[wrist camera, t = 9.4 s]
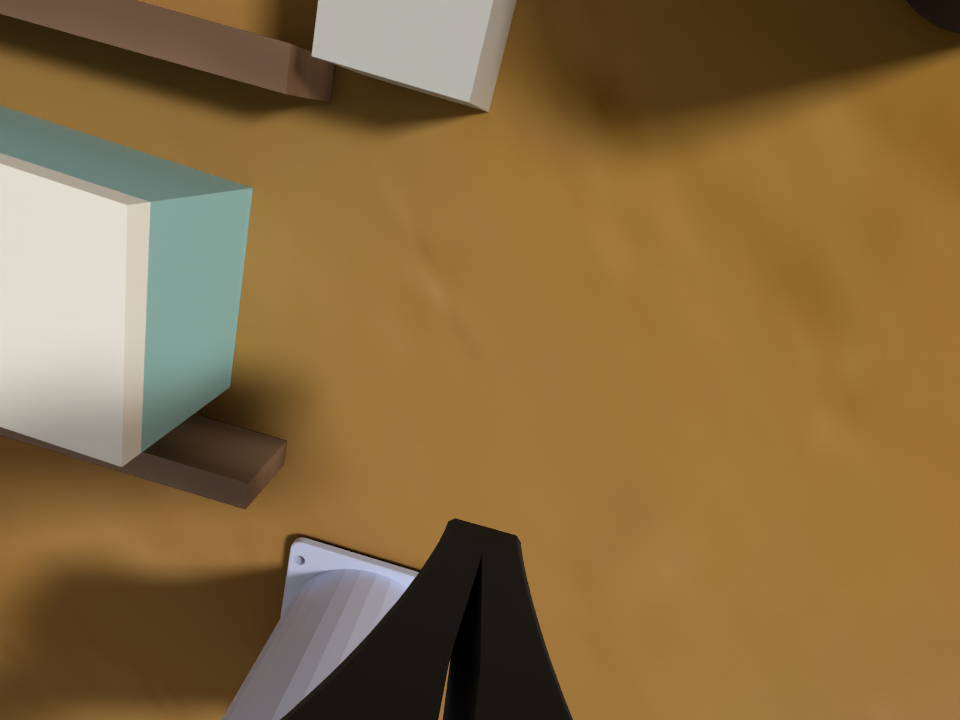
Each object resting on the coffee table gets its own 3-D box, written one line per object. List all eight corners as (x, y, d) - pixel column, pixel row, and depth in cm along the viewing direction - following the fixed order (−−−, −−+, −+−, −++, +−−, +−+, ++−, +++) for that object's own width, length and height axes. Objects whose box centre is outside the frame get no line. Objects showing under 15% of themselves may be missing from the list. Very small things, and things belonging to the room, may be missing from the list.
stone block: (488, 112, 16) (469, 102, 13) (366, 76, 17) (311, 56, 13) (527, -40, 15) (516, -101, 11) (391, -79, 15) (336, -153, 11)
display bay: (283, 464, 22) (245, 509, 20) (-53, 363, 23) (-137, 393, 20) (335, 60, 16) (290, 43, 14) (-125, -68, 17) (-259, -110, 14)
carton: (232, 384, 22) (121, 467, 16) (-22, 300, 22) (-220, 354, 16) (255, 187, 18) (127, 205, 13) (-43, 90, 19) (-297, 66, 13)
